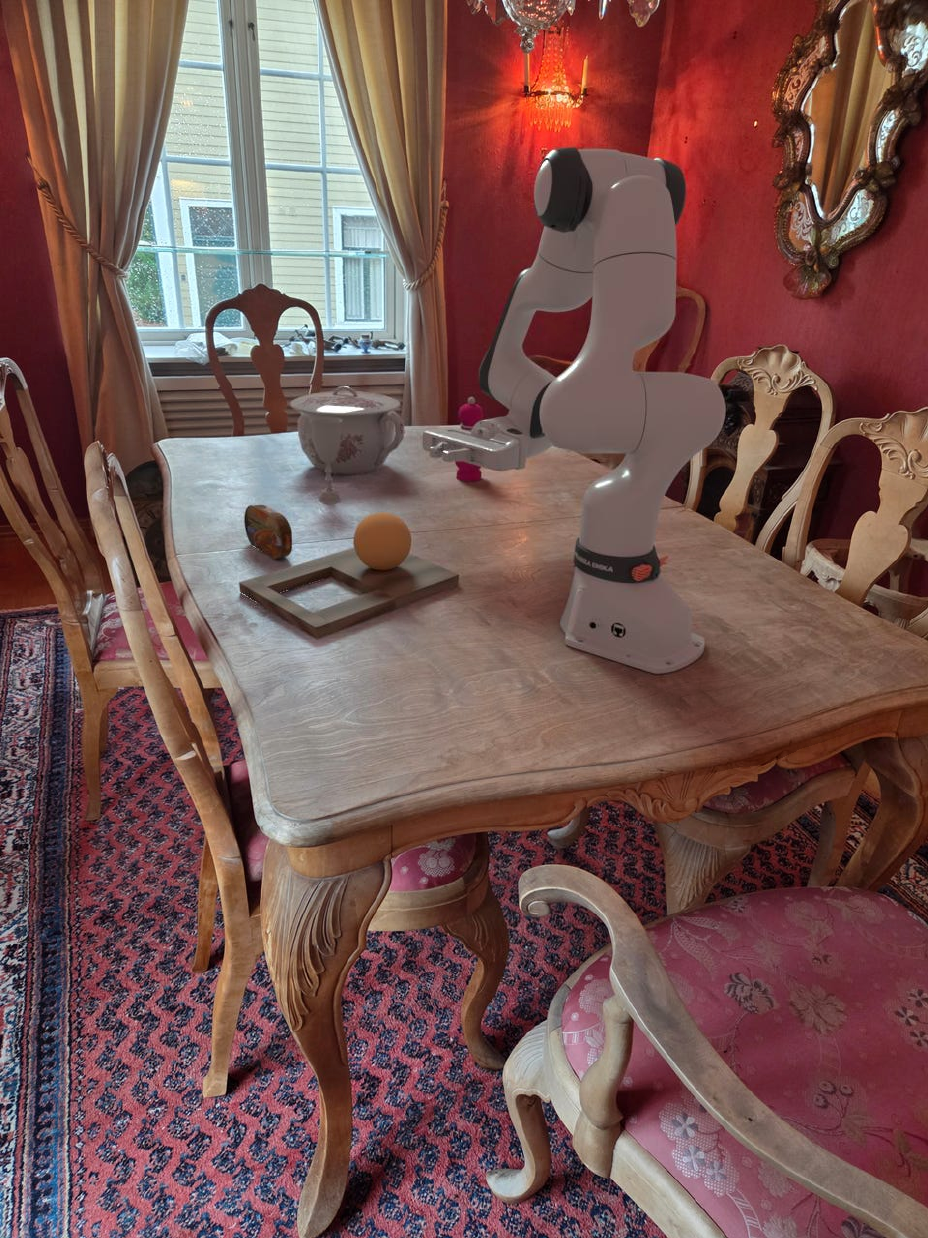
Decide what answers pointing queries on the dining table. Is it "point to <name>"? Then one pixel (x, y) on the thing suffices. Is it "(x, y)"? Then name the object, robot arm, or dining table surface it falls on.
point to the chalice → (327, 450)
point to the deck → (377, 585)
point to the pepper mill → (469, 418)
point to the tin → (268, 531)
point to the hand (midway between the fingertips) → (438, 454)
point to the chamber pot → (352, 428)
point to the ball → (382, 541)
